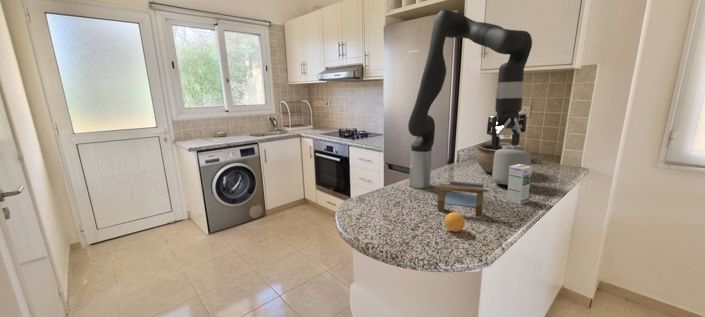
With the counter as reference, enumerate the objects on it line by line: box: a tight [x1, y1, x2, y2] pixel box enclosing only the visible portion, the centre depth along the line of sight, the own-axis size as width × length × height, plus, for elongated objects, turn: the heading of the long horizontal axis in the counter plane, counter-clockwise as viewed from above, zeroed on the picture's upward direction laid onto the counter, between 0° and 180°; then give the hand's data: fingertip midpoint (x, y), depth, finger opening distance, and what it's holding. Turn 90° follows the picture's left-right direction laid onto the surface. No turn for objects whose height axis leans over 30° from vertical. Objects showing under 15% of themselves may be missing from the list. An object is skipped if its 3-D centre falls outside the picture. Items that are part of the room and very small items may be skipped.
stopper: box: [449, 180, 484, 188], centre depth 133 cm, size 14×2×2 cm, turn 65°
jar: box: [491, 137, 532, 186], centre depth 134 cm, size 19×15×25 cm
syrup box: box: [506, 164, 533, 205], centre depth 115 cm, size 6×6×14 cm
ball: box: [444, 211, 466, 233], centre depth 92 cm, size 6×6×6 cm
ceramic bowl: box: [475, 141, 523, 174], centre depth 156 cm, size 22×22×15 cm
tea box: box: [499, 134, 512, 145], centre depth 186 cm, size 15×10×15 cm, turn 157°
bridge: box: [437, 183, 485, 218], centre depth 106 cm, size 3×15×10 cm, turn 65°
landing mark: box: [445, 191, 477, 208], centre depth 120 cm, size 14×14×1 cm
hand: (505, 146), depth 97 cm, fingers open, 8 cm apart
